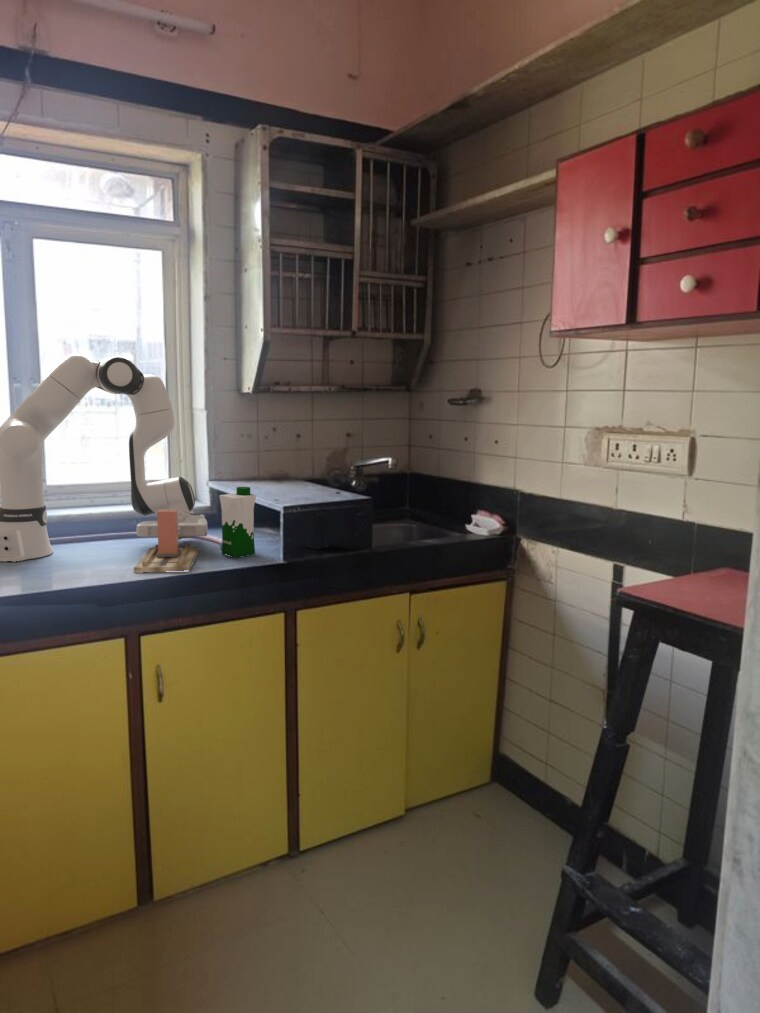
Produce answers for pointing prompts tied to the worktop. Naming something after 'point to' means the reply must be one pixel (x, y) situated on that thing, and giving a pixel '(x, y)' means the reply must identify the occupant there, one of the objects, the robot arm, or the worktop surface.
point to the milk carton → (238, 523)
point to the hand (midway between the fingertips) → (169, 534)
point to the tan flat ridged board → (166, 561)
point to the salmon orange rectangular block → (168, 533)
